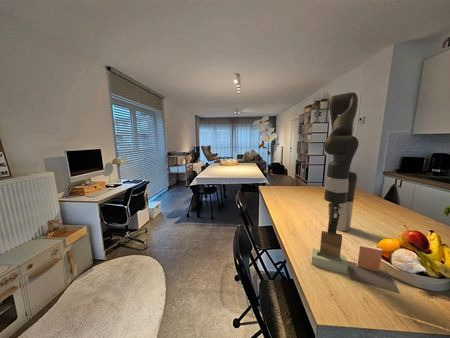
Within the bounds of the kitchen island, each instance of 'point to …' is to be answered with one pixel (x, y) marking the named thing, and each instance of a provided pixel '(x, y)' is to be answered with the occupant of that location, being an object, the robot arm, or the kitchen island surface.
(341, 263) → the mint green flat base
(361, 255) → the tile
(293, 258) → the kitchen island surface
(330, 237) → the brown wooden block
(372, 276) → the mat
